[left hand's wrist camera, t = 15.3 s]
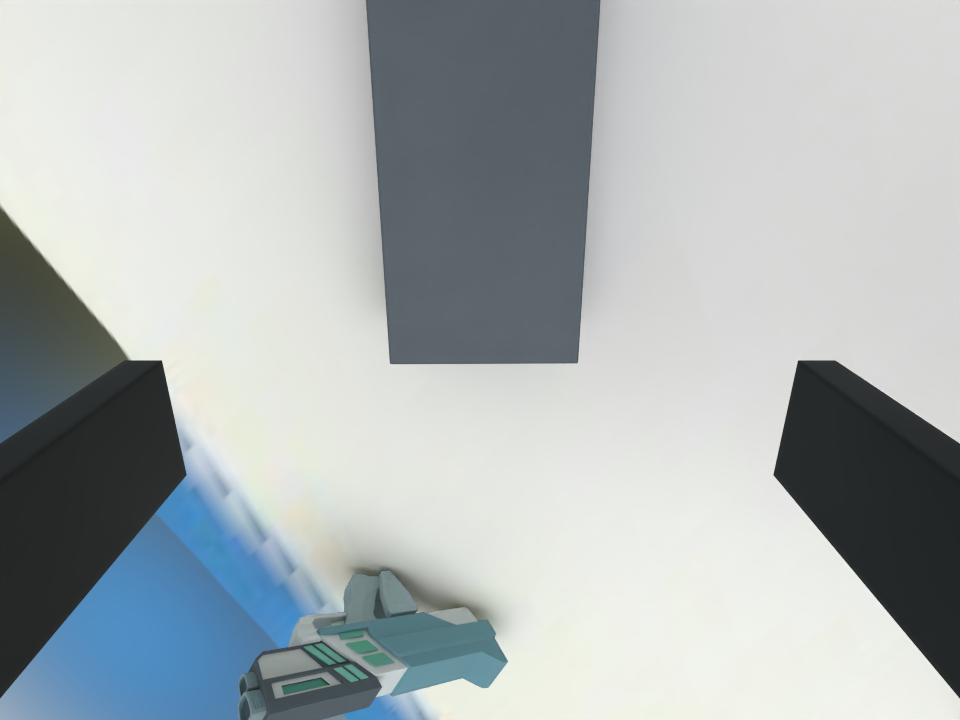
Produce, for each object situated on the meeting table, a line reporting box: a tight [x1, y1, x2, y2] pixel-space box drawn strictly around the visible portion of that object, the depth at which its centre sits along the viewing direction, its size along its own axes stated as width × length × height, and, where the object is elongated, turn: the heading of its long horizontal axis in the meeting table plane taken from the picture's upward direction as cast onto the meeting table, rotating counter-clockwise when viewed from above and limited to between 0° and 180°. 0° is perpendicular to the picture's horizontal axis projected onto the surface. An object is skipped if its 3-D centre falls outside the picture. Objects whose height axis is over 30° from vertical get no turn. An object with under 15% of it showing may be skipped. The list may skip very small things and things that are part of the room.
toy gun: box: [238, 570, 508, 720], centre depth 42 cm, size 4×19×10 cm
